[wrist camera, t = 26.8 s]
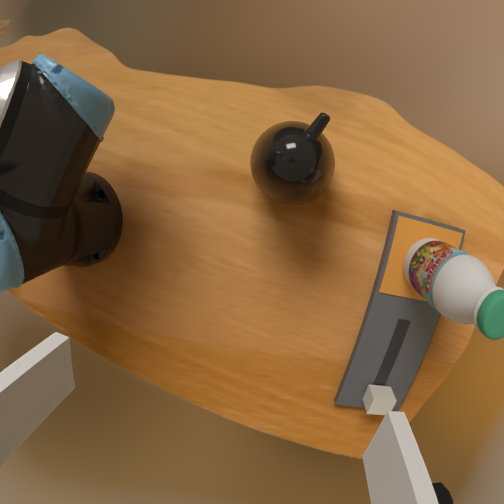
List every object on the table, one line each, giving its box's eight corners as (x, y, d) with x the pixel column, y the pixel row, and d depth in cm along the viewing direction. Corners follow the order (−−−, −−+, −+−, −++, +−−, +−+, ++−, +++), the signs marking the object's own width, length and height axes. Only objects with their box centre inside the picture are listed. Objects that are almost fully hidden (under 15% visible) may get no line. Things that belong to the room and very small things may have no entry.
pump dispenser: (345, 157, 41) (373, 146, 27) (299, 217, 44) (305, 236, 29) (284, 112, 41) (282, 79, 26) (239, 172, 43) (214, 169, 29)
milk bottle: (454, 245, 40) (540, 287, 21) (437, 294, 42) (509, 359, 23) (411, 230, 41) (491, 268, 21) (394, 282, 42) (457, 351, 23)
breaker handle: (362, 398, 47) (366, 413, 43) (368, 384, 46) (373, 399, 42) (384, 400, 46) (389, 415, 42) (390, 386, 46) (396, 401, 42)
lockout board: (334, 399, 49) (335, 405, 48) (392, 210, 42) (396, 211, 40) (396, 405, 49) (398, 411, 47) (460, 229, 41) (466, 230, 40)
